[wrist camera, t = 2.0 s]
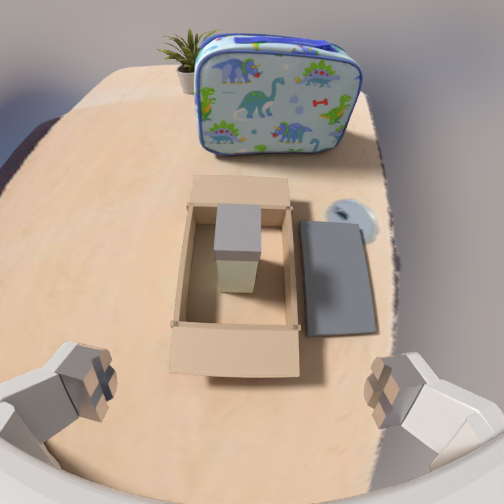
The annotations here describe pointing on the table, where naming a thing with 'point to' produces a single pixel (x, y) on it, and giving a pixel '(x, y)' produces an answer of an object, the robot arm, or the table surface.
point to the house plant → (186, 60)
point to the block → (237, 246)
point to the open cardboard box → (236, 335)
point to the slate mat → (335, 280)
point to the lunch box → (273, 94)
